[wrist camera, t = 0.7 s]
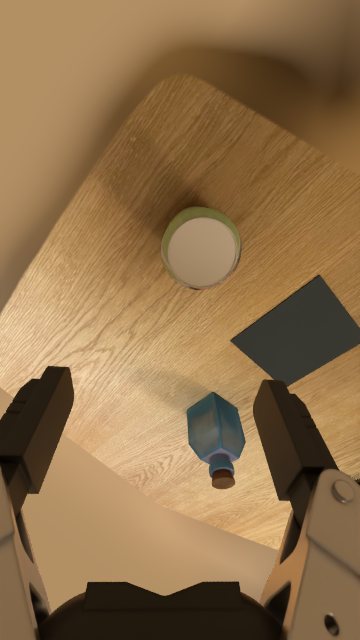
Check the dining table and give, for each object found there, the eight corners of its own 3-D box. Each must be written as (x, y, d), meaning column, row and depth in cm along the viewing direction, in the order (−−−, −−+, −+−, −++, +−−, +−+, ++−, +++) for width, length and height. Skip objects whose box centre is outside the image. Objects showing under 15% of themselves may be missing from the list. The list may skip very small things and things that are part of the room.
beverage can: (180, 267, 31) (183, 323, 21) (152, 206, 27) (141, 238, 17) (230, 247, 30) (260, 296, 20) (209, 180, 26) (233, 197, 16)
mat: (230, 340, 37) (230, 341, 37) (319, 274, 32) (319, 275, 32) (284, 387, 43) (284, 388, 42) (367, 338, 37) (367, 338, 37)
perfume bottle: (210, 425, 47) (221, 498, 37) (186, 410, 45) (191, 484, 35) (237, 408, 45) (255, 482, 35) (213, 392, 43) (226, 466, 33)
